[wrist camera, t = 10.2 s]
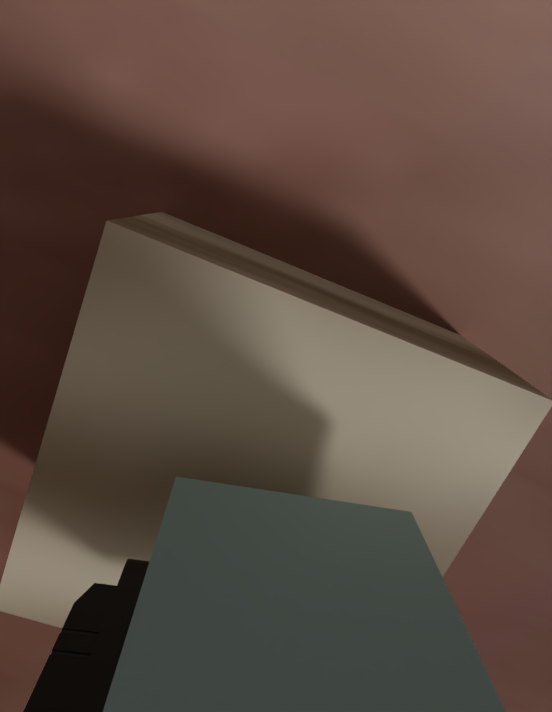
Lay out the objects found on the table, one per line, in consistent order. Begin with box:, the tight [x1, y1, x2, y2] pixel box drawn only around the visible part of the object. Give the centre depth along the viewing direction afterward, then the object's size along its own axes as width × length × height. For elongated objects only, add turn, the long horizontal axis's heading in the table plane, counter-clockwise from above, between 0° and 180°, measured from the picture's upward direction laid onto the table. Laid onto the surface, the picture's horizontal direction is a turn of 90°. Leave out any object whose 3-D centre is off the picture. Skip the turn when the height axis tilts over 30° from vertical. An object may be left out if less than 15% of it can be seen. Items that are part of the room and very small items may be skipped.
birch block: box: [0, 212, 552, 628], centre depth 15 cm, size 11×11×6 cm
